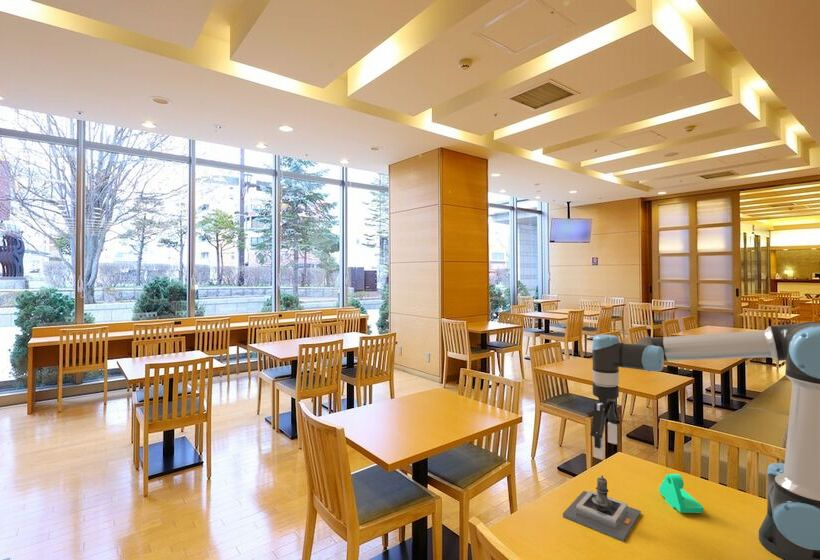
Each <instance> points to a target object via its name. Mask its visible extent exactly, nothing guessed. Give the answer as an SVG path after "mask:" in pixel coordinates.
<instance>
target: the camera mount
mask: <svg viewBox="0 0 820 560" xmlns="http://www.w3.org/2000/svg"><path fill="white" fill-rule="evenodd" d="M683 488H684V479H683V477H682V476H681V474H679V473H667V474H665V476H664V479H663V480H662V482H661V484H660V485H659V487H658V493H659V494H660V495H662V496H663V498H665V499H664V500H665V502H666V503H667V504H668V505H669V507H671V508H672V509H674V510H677V511H678V512H679V513H686V514H687V513H688V514H693V513H694V514H702V513H704V506H703V505H702V504H701V503H699V501H698V500H696V499H695V498H694V497H693V496H692V495H690V493H688V492H687V491H686V490H685V489H683Z"/></svg>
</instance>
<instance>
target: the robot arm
mask: <svg viewBox="0 0 820 560" xmlns="http://www.w3.org/2000/svg"><path fill="white" fill-rule="evenodd" d="M619 339H620V338H619V337H618V335H617V336H616V335H613V334H596V335H594V336H593V338H592V348H591V351H592V371H591V372H590V374H591V375H592V382H593V383H592V395H593V396H594V397H595V398H596V397H597V398H598V401H597V402H594V404H593V406H594V407H593V408H594V409H593V410H594V411H593V417H592V423H591V429H590V433H589V435H590V437H593V457H595V458H598V459H601V460H603V459H604V457H605V455H604V454H605V452H604V451H605V450H604V447H605V446H604V445H605V443H604V439H605V438H604V436H603V434H604V430H605V425H606V421H607V419H608V422H607V443H610V444H612V445H618V425H621V420H620V415H619V409H618V402H617V399H618V398H619V396H620V395H619V394H620V391H619V389H620V386H619V384H620V379H619V378H620V373H619V372H620V370H619V368H625V369H633V370H639V371H640V370H641V371H646V372H647V371H648V372H661V371H663V369H664V364H665V362H669V361H671V362H672V361H674V362H677V361H697V360H698V361H699V360H700V361H702V360H726V359H727V360H729V359H732V360H733V359H734V360H735V359H753V358H754V359H756V358H771V359H773V360H775V362H779V361H785V363H786V364H785V372H784V373H785V374H784V375H785V377H786V378H787V379H788V380H789V381H790V382H791V383H792V384H791V385H792V386H791V393H790V395H791V396H790V404H789V405H790V406H789V416H788V426H787V433H786V434H787V437H786V443H785V444H786V445H785V454H784V463H782V462H771V463H770V464H769V465H768V466H767V471H766V474H767V493H766V497H767V499H766V500H767V501H766V502H767V503H766V504H767V505H766V515H765V517H764V519H763V521H762V523H761V525H760V527H759V529H758V540H759V543H760V545H762V547H764V549H766V550H767V551H768V552H770V553H771V554H773V555H774V556H777V557H779V558H780V559H782V560H784V559H785V560H820V322H819V321H804V322H803V321H802V322H796V323H790V324H782V325H770V326H767V328H766V329H764V330H750V331H737V332H735V331H733V332H721V333H720V332H719V333H706V334H693V335H678V336H677V335H676V336H663V337H651V336H645V337H641V338H640V339H638V340H637V341H636V343H626V342H625V343H624V342H623V343H622V342H620V340H619Z"/></svg>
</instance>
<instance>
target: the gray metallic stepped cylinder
mask: <svg viewBox="0 0 820 560" xmlns="http://www.w3.org/2000/svg"><path fill="white" fill-rule="evenodd" d="M596 482H597V483H596V487H595V489H596V493H597V496H595V497H593V498H592V501H593V504H594V506H595V508H594V510H596V511H599V512H602V513H604V514H607V515H610V516H611V512H610V511H609V510H610V508H611V506H612V502H611V501H610V500H609V499H608V498H607V497H608V492H609V489H608V481H607V479H606V478H604V476H603V475H601V476H600V477H597V480H596Z"/></svg>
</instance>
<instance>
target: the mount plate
mask: <svg viewBox="0 0 820 560" xmlns="http://www.w3.org/2000/svg"><path fill="white" fill-rule="evenodd" d="M595 496H597V491H596V492H595V491H592V490H589V491H586V490H583V491H582V492H581V493H580V494H579V495H578V496H577V497H576V499H575V500H574V501H573V502H572V503H571V504H570V505H569V506H568V507H567V508H566V509H565V511H563V513H562V517H563V518H565V519H567V520H570V521H572V522H575V523H578V524H580V525H582V526H585V527H587V528H589V529H592V530H594V531H597V532H600V533H602V534H604V535H606V536H609V537H611V538H614V539H617V540H619V541H621V542H625V541H626V539H627V537H628V536H629V534H630V532H631V531H632V529H633V527H634V526H635V524H636V523H637V521H638V520H639V518H640V516H641V515H642V511H641V510H639V509H637V508H633V507H631V506H629V504H628V503H626V502H624V501H622V500H621V501H620V500H618V499H616V498H612V497H609V496H607V498H608V499H609V500H610V501H611V502H612V506H611V508H610V510H609V511H610V512H611V516H610V515H607V514H604V513H602V512H599V511H596V510H594V508H595V506H594V504H593V501H592V498H593V497H595Z"/></svg>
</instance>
